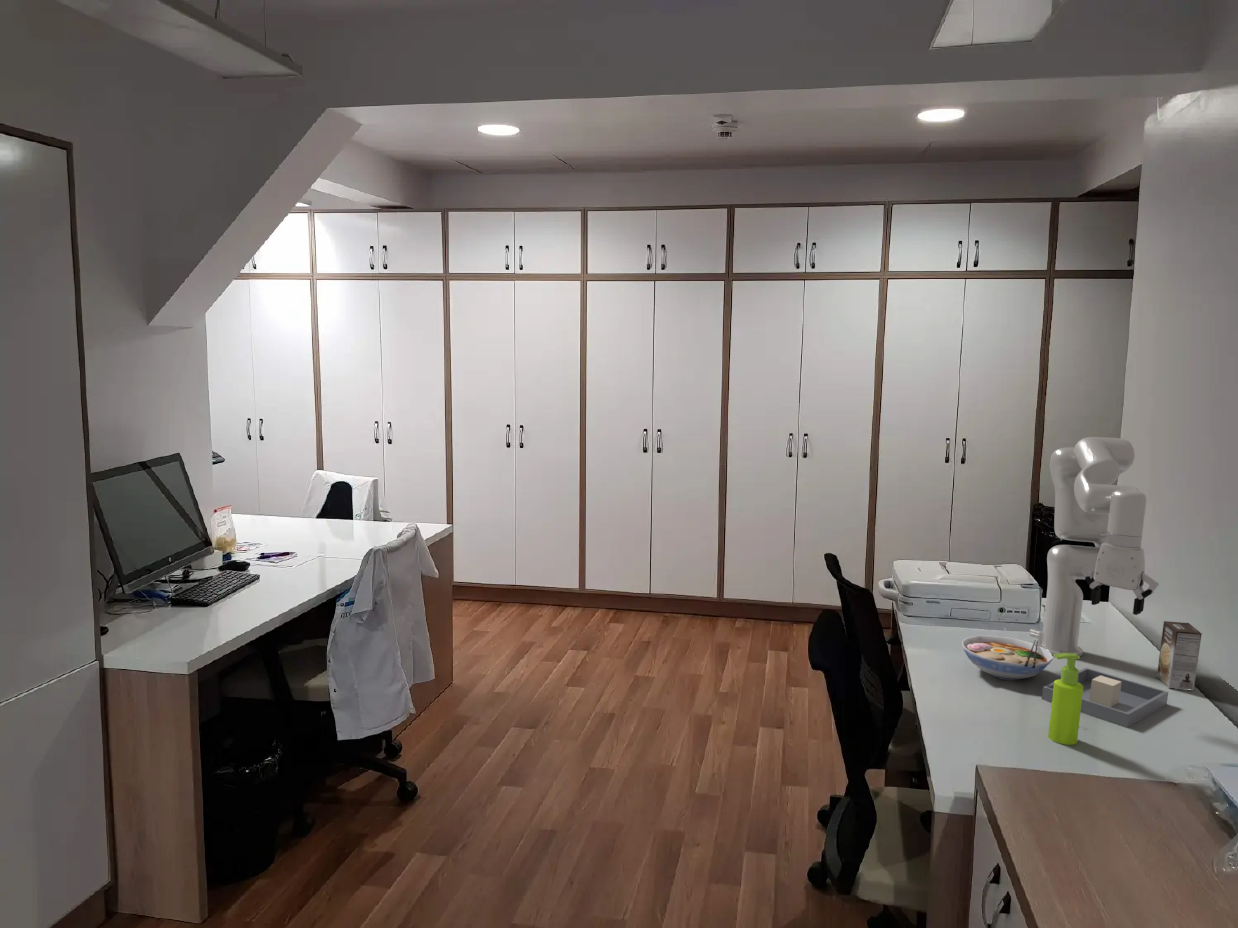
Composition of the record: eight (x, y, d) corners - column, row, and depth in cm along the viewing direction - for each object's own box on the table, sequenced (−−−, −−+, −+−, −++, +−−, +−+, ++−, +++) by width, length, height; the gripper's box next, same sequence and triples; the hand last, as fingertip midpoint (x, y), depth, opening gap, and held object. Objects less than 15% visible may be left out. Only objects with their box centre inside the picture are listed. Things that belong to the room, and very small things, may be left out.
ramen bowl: (966, 653, 258) (969, 626, 257) (1054, 670, 247) (1057, 641, 246) (951, 680, 237) (954, 650, 235) (1046, 700, 225) (1049, 668, 224)
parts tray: (1041, 701, 224) (1042, 686, 223) (1084, 681, 239) (1085, 667, 239) (1126, 730, 209) (1128, 714, 208) (1166, 707, 224) (1168, 691, 223)
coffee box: (1155, 676, 245) (1162, 620, 243) (1181, 679, 244) (1188, 622, 242) (1168, 689, 236) (1176, 630, 234) (1195, 691, 235) (1203, 632, 233)
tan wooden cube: (1089, 700, 224) (1091, 679, 223) (1098, 695, 227) (1100, 675, 226) (1110, 707, 220) (1112, 685, 220) (1119, 702, 223) (1121, 681, 223)
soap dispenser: (1038, 733, 205) (1047, 649, 203) (1067, 733, 206) (1076, 649, 203) (1053, 744, 199) (1062, 658, 197) (1082, 744, 200) (1092, 659, 197)
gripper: (1080, 535, 222) (1072, 602, 224) (1156, 549, 209) (1147, 620, 211) (1093, 532, 227) (1086, 598, 229) (1168, 545, 214) (1160, 615, 216)
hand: (1115, 608), depth 220 cm, fingers open, 9 cm apart
